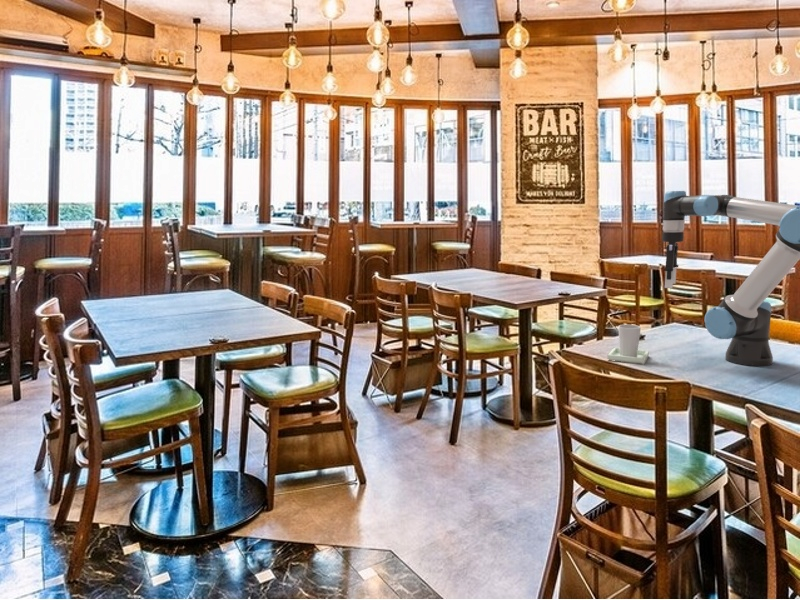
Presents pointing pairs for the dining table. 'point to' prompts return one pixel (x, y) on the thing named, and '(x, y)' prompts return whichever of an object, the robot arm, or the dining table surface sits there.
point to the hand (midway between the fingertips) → (670, 285)
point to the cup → (629, 340)
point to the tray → (639, 359)
